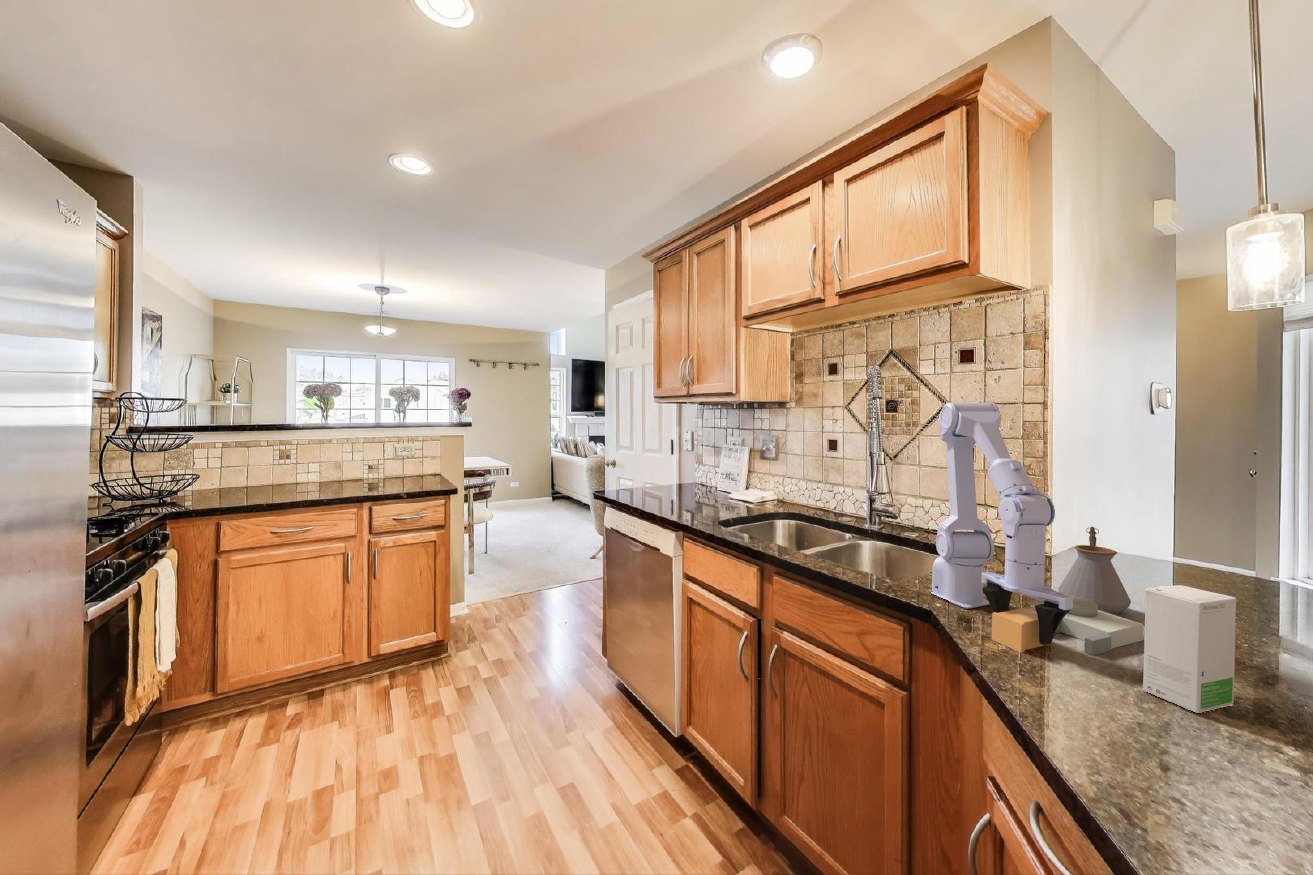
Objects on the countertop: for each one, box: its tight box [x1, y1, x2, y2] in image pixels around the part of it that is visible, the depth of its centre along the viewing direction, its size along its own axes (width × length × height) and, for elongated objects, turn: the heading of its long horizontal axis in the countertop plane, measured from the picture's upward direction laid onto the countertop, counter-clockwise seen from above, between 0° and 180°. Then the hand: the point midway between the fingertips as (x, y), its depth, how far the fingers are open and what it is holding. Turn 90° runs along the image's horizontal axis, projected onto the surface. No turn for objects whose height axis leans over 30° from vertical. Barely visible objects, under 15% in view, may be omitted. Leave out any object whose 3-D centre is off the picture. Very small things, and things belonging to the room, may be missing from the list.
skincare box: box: [1142, 584, 1237, 714], centre depth 69 cm, size 8×7×16 cm
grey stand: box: [1029, 595, 1144, 656], centre depth 91 cm, size 13×15×5 cm
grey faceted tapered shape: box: [1057, 526, 1132, 616], centre depth 106 cm, size 21×12×15 cm, turn 139°
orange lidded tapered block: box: [991, 607, 1050, 653], centre depth 87 cm, size 5×8×5 cm
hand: (1022, 634), depth 87 cm, fingers open, 7 cm apart
